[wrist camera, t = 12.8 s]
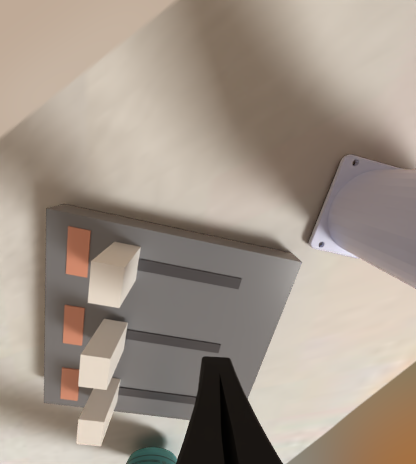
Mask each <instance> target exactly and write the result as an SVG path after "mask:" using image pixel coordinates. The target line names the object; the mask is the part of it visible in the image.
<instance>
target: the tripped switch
mask: <svg viewBox="0 0 416 464" xmlns="http://www.w3.org/2000/svg"><path fill="white" fill-rule="evenodd" d="M127 325H128V323H127V322H121V321H115V320H109V319H103V321H102V323H101V324H100V326H99V327H98V329H97V330H96V332H95V333H94V335H93V336H92V338H91V339H90V341H89V342H88V344H87V346H86V347H85V349H84V350H83V352H82V353H81V356H80V369H79V382H78V386H79V387H86V388H94V389H102V390H107V388H108V385H109V383H110V381H111V378H112V376H113V374H114V371H115V369H116V367H117V364H118V362H119V360H120V357H121V355H122V353H123V350H124V345H125V338H126V332H127Z"/></svg>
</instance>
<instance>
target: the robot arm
mask: <svg viewBox="0 0 416 464" xmlns="http://www.w3.org/2000/svg"><path fill="white" fill-rule="evenodd" d="M354 160H355V165H354V166H353V164H352V163H353V161H354ZM320 242H322V244H321V245H320V246H319V243H320ZM309 245H310V247H312V248H314V249H319V250H323V251H328V252H332V253H337V254H341V255H346V256H350V257H355V258H359V259H362V260H364V261H366V262H367V263H369V264H371V265H373V266H375V267H377V268H378V269H380V270H382V271H384V272H386V273H388V274H389V275H391V276H393V277H395V278H397V279H399V280H401V281H402V282H404V283H406V284H408V285H410V286H412V287H413V288H415V289H416V169H402V168H398V167H395V166H391V165H387V164H384V163H380V162H377V161H373V160H369V159H366V158H362V157H358V156H355V155H346V156H344V157H343V158H342V160H341V162H340V164H339V167H338V169H337V172H336V174H335V177H334V180H333V182H332V185H331V187H330V190H329V192H328V195H327V197H326V200H325V202H324V205H323V207H322V210H321V212H320V215H319V217H318V220H317V222H316V225H315V227H314V230H313V232H312V235H311V237H310V240H309ZM176 464H283V463H282V462H281V460H280V458H279V457H278V455H277V453H276V452H275V450H274V448H273V446H272V445H271V443H270V441H269V439H268V438H267V436H266V434H265V432H264V430H263V429H262V427H261V425H260V423H259V421H258V419H257V417H256V415H255V413H254V412H253V409H252V407H251V405H250V403H249V401H248V399H247V397H246V395H245V393H244V391H243V389H242V386H241V384H240V382H239V379H238V377H237V375H236V372H235V370H234V367H233V364H232V361H231V359H230V358H227V357H209V356H204V357H203V358H202V361H201V368H200V376H199V383H198V392H197V396H196V401H195V405H194V409H193V412H192V415H191V419H190V422H189V426H188V429H187V432H186V435H185V438H184V442H183V444H182V447H181V450H180V453H179V456H178V459H177V462H176Z"/></svg>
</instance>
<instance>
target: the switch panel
mask: <svg viewBox="0 0 416 464" xmlns="http://www.w3.org/2000/svg"><path fill="white" fill-rule="evenodd" d="M301 264H302V262H301V261H300V260H299V259H298V258H297V257H296V256H295V255H293V254H292V253H290V252H285V251H280V250H276V249H271V248H266V247H262V246H257V245H252V244H248V243H243V242H238V241H234V240H229V239H225V238H220V237H215V236H211V235H206V234H201V233H197V232H192V231H187V230H183V229H178V228H173V227H169V226H164V225H159V224H155V223H150V222H145V221H141V220H136V219H131V218H127V217H122V216H118V215H113V214H108V213H104V212H99V211H94V210H90V209H85V208H80V207H76V206H71V205H66V204H62V205H58V206H54V207H50V208H46V280H45V359H44V403H50V404H58V405H67V406H75V407H83V408H84V409H83V411H82V413H81V415H80V417H79V419H78V429H77V441H76V444H82V445H92V446H101V445H102V442H103V439H104V436H105V434H106V431H107V428H108V425H109V423H110V420H111V417H112V414H113V412H114V411H117V412H126V413H134V414H143V415H151V416H160V417H168V418H177V419H185V420H190V419H191V415H192V412H193V409H194V405H195V401H196V396H197V392H198V383H199V376H200V368H201V361H202V358H203V357H204V356H209V357H227V358H230V359H231V361H232V364H233V367H234V370H235V372H236V375H237V377H238V379H239V382H240V384H241V386H242V389H243V391H244V393H245V395H246V397H247V399H248V396H249V394H250V391H251V389H252V386H253V384H254V381H255V379H256V376H257V374H258V371H259V369H260V366H261V364H262V361H263V359H264V356H265V354H266V351H267V349H268V346H269V344H270V341H271V339H272V336H273V334H274V331H275V329H276V326H277V324H278V321H279V319H280V316H281V314H282V311H283V309H284V306H285V304H286V301H287V299H288V296H289V294H290V291H291V289H292V286H293V284H294V281H295V279H296V276H297V274H298V271H299V269H300V266H301ZM103 319H109V320H115V321H121V322H127V323H128V325H127V332H126V338H125V345H124V350H123V353H122V355H121V357H120V360H119V362H118V364H117V367H116V369H115V371H114V374H113V376H112V378H111V381H110V383H109V385H108V388H107V390H102V389H94V388H86V387H79V386H78V382H79V369H80V356H81V353H82V352H83V350H84V349H85V347H86V346H87V344H88V342H89V341H90V339H91V338H92V336H93V335H94V333H95V332H96V330H97V329H98V327H99V326H100V324H101V323H102V321H103Z"/></svg>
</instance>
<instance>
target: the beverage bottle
mask: <svg viewBox="0 0 416 464" xmlns="http://www.w3.org/2000/svg"><path fill="white" fill-rule="evenodd" d="M176 462H177V458H176V456H175V455H174V454H173V453H172V452H170V451H168V450H166V449H163V448H158V447H147V448H142V449H139V450H137V451H135V452H134V453H133V454H131V456H130V457H129V459H128V461H127V463H126V464H176Z"/></svg>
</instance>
